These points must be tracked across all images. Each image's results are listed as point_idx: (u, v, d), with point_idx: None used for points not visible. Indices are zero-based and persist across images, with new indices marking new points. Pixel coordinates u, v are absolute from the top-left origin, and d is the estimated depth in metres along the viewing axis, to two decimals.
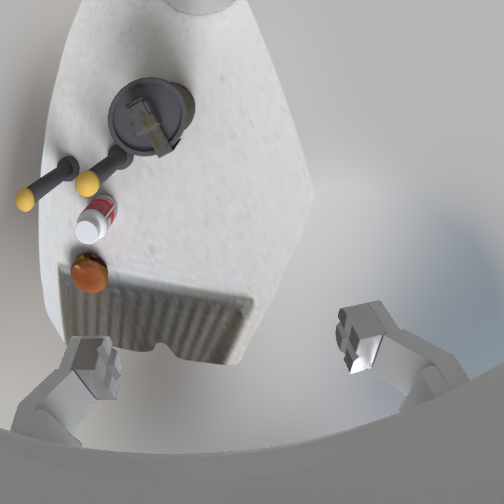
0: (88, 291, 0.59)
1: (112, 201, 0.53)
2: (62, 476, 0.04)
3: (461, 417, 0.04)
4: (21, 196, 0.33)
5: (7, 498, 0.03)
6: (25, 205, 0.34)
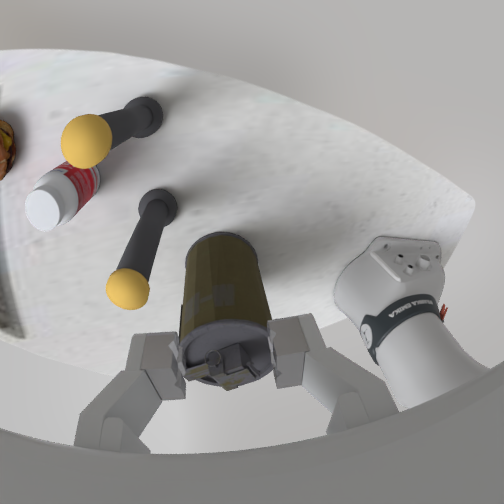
0: None
1: (91, 197, 0.34)
2: (62, 476, 0.04)
3: (461, 417, 0.04)
4: (92, 136, 0.16)
5: (7, 498, 0.03)
6: (73, 146, 0.16)
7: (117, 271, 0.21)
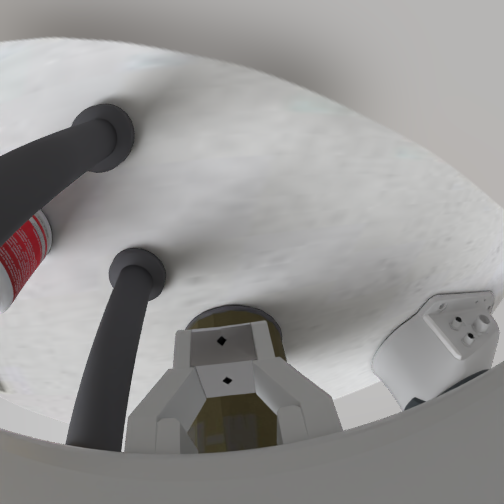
0: None
1: None
2: (62, 476, 0.04)
3: (461, 417, 0.04)
4: None
5: (7, 498, 0.03)
6: None
7: None
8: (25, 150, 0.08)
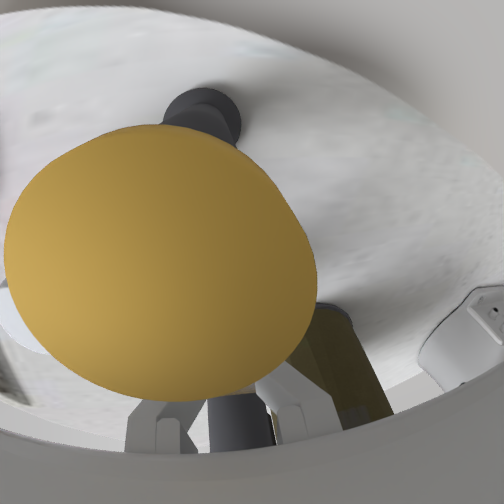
0: None
1: None
2: (62, 476, 0.04)
3: (461, 417, 0.04)
4: (213, 289, 0.03)
5: (7, 498, 0.03)
6: (84, 323, 0.03)
7: None
8: (209, 116, 0.08)
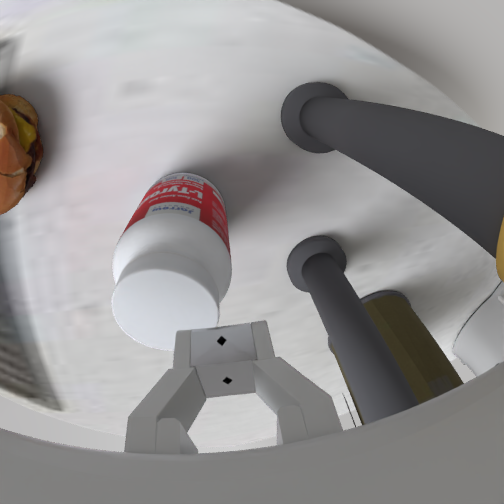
0: None
1: None
2: (62, 476, 0.04)
3: (461, 417, 0.04)
4: None
5: (7, 498, 0.03)
6: None
7: None
8: None
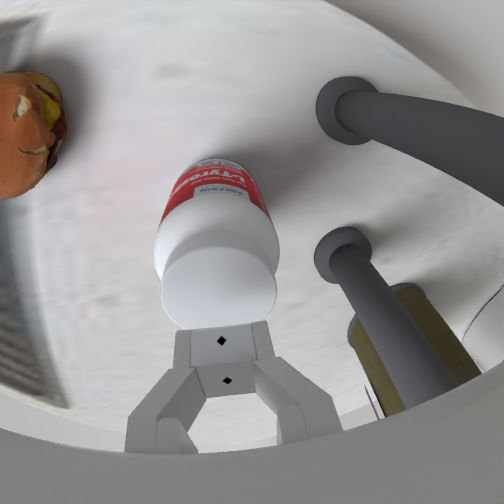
0: None
1: None
2: (62, 476, 0.04)
3: (461, 417, 0.04)
4: None
5: (7, 498, 0.03)
6: None
7: None
8: None
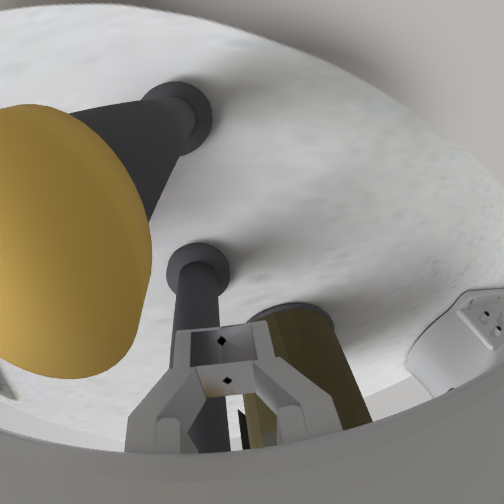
0: None
1: None
2: (62, 476, 0.04)
3: (461, 417, 0.04)
4: (35, 253, 0.02)
5: (7, 498, 0.03)
6: None
7: None
8: (151, 104, 0.08)
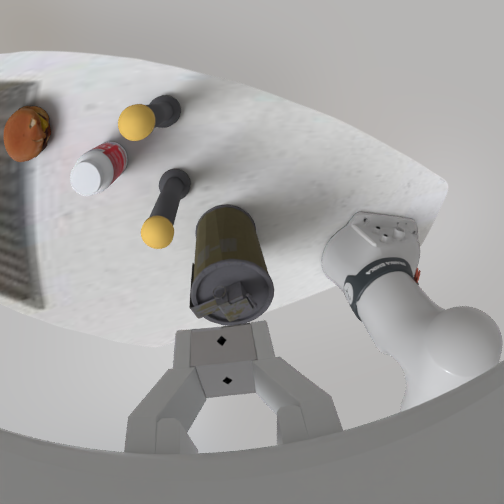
0: (5, 137, 0.32)
1: None
2: (62, 476, 0.04)
3: (461, 417, 0.04)
4: (142, 119, 0.24)
5: (7, 498, 0.03)
6: (127, 125, 0.24)
7: (151, 217, 0.30)
8: (155, 105, 0.30)
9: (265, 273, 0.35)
